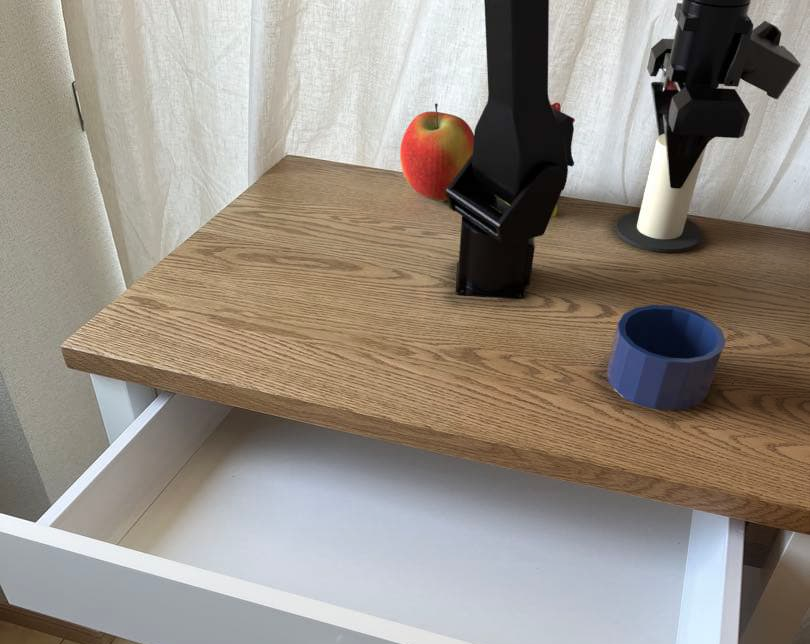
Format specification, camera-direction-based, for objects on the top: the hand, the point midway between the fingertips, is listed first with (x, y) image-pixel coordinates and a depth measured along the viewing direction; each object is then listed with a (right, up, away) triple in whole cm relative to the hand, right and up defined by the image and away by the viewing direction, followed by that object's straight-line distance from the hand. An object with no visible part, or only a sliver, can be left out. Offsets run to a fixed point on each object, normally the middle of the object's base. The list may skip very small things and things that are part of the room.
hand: (671, 177), depth 84 cm
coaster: (0, -4, +4) cm, 6 cm away
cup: (-6, -24, -15) cm, 29 cm away
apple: (-24, +2, +9) cm, 25 cm away
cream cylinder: (0, -4, +4) cm, 6 cm away
